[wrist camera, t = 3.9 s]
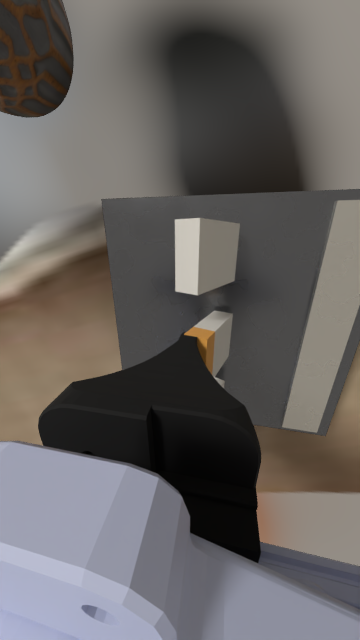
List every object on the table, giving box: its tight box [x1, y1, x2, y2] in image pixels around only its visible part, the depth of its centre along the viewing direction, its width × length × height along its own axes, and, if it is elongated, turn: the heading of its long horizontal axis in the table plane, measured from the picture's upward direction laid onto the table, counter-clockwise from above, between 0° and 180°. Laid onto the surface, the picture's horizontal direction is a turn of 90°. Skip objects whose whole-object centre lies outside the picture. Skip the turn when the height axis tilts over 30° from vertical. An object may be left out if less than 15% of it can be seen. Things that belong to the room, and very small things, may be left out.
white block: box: [175, 218, 240, 295], centre depth 10 cm, size 3×1×4 cm, turn 0°
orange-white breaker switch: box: [184, 310, 233, 377], centre depth 12 cm, size 3×1×4 cm, turn 0°
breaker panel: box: [101, 189, 360, 436], centre depth 15 cm, size 16×16×2 cm
